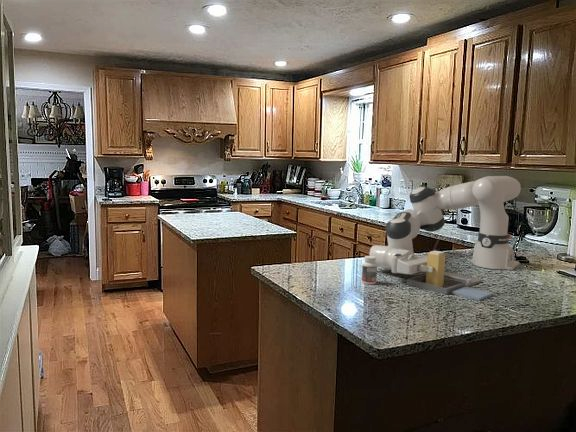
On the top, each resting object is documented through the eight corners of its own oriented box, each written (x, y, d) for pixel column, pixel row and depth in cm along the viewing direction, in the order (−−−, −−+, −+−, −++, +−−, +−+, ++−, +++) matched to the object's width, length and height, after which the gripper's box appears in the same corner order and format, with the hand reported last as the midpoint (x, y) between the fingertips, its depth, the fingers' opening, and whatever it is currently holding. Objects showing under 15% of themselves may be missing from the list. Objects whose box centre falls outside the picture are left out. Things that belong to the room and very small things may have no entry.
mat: (465, 288, 171) (465, 286, 171) (493, 295, 164) (493, 292, 164) (451, 293, 164) (451, 291, 164) (479, 300, 157) (479, 298, 157)
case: (443, 273, 192) (444, 268, 192) (482, 281, 180) (482, 276, 180) (406, 284, 175) (406, 278, 175) (446, 294, 163) (446, 288, 163)
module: (432, 283, 177) (434, 250, 175) (443, 286, 173) (445, 252, 172) (425, 285, 174) (427, 251, 172) (436, 288, 170) (439, 253, 169)
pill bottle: (360, 280, 178) (361, 255, 177) (374, 280, 179) (375, 255, 177) (363, 284, 173) (364, 258, 172) (378, 284, 173) (379, 258, 172)
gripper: (419, 265, 190) (451, 272, 179) (389, 273, 176) (421, 281, 166) (420, 249, 189) (453, 256, 179) (390, 256, 175) (423, 263, 165)
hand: (437, 268), depth 172 cm, fingers closed on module, 4 cm apart
